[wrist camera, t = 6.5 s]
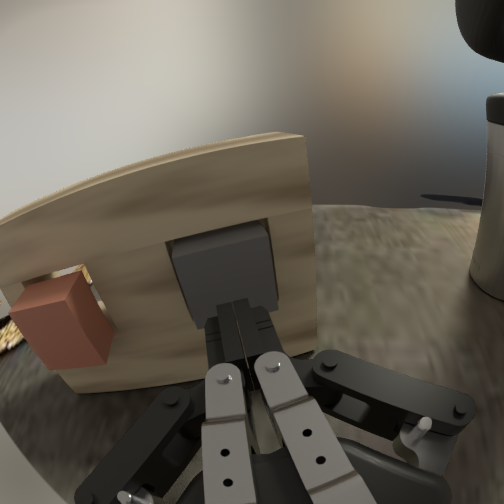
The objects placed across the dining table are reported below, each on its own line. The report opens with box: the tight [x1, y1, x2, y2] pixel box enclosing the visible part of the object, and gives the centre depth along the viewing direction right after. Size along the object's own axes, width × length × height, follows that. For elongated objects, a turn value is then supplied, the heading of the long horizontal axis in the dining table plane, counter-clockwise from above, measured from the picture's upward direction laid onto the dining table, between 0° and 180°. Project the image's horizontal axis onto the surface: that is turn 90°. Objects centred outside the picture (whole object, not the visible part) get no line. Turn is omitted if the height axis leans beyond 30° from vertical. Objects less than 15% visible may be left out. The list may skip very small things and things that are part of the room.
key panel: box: [0, 132, 317, 393], centre depth 18 cm, size 5×22×16 cm, turn 102°
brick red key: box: [9, 271, 114, 370], centre depth 14 cm, size 3×5×5 cm, turn 102°
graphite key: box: [172, 220, 279, 330], centre depth 16 cm, size 3×5×5 cm, turn 102°
